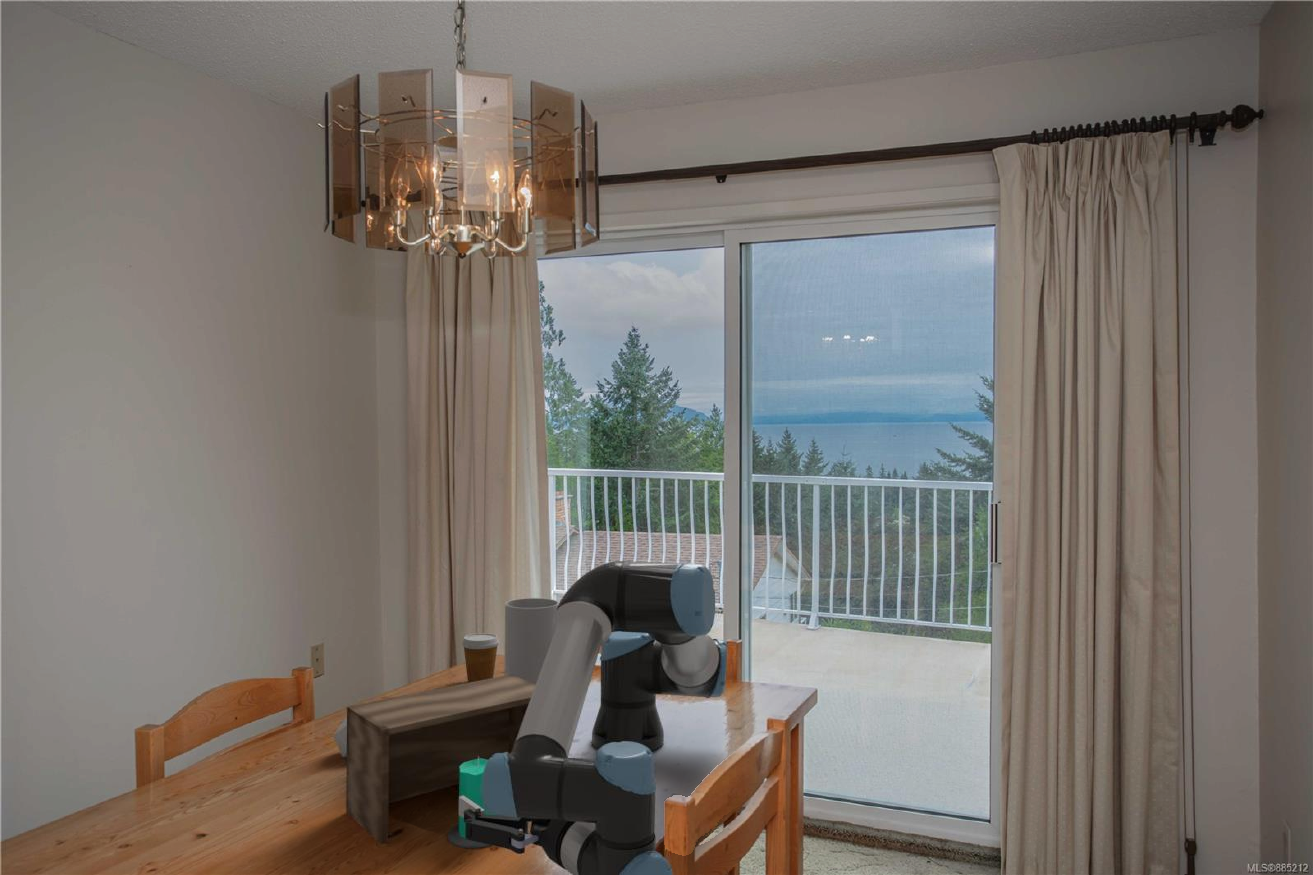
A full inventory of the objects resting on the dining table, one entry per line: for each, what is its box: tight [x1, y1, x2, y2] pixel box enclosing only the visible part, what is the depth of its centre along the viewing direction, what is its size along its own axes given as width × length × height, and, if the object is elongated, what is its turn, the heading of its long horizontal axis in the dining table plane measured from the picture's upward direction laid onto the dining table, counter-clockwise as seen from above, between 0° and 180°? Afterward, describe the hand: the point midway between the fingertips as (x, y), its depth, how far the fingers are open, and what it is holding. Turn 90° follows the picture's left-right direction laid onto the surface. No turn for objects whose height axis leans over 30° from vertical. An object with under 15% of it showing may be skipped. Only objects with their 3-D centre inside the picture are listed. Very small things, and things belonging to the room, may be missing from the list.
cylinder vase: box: [504, 597, 560, 685], centre depth 204 cm, size 12×12×25 cm
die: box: [332, 715, 347, 758], centre depth 175 cm, size 8×9×10 cm
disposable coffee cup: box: [461, 632, 500, 683], centre depth 226 cm, size 10×10×12 cm
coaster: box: [447, 823, 492, 850], centre depth 140 cm, size 9×9×1 cm
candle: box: [458, 756, 497, 839], centre depth 140 cm, size 6×6×12 cm
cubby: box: [345, 675, 535, 845], centre depth 152 cm, size 15×32×18 cm, turn 130°
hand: (500, 793), depth 134 cm, fingers open, 13 cm apart
